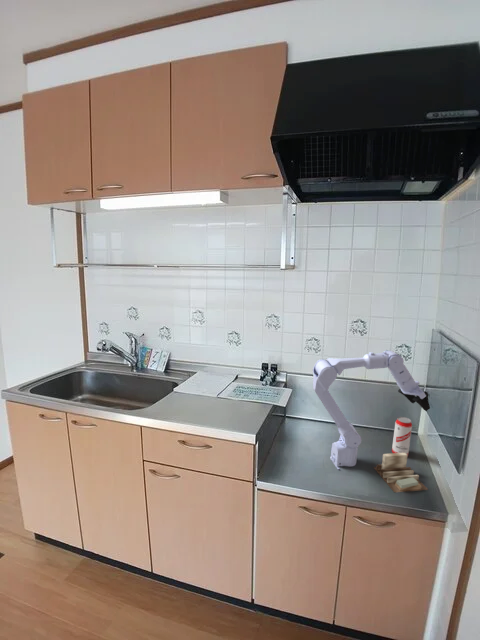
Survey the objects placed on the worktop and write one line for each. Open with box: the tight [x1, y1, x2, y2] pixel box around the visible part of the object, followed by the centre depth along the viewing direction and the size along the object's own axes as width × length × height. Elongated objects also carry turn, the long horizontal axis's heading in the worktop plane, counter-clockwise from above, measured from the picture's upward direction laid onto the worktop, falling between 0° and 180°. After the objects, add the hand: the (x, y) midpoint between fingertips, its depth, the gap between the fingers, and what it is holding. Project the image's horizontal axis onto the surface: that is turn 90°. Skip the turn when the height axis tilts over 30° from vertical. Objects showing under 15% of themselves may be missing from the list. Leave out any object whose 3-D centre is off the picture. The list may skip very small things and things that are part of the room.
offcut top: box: [396, 477, 418, 488], centre depth 118 cm, size 7×3×1 cm, turn 106°
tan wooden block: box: [381, 452, 409, 469], centre depth 127 cm, size 9×2×7 cm, turn 98°
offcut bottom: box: [395, 482, 421, 491], centre depth 118 cm, size 8×3×1 cm, turn 98°
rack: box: [373, 463, 429, 493], centre depth 123 cm, size 13×14×3 cm
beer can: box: [391, 416, 413, 456], centre depth 138 cm, size 6×6×16 cm
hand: (420, 405), depth 129 cm, fingers open, 7 cm apart
